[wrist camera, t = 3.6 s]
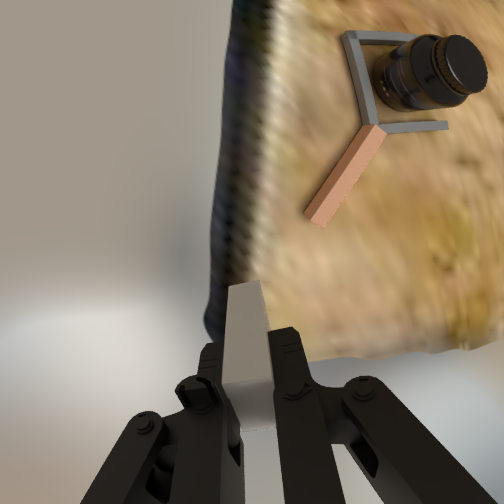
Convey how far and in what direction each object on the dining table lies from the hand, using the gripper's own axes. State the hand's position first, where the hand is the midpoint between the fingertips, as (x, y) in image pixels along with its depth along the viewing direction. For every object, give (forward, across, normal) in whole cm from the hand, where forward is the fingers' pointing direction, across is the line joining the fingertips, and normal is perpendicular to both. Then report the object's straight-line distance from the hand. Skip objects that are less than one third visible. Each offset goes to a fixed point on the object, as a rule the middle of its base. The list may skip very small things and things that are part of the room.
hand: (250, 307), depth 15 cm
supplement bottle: (+16, +19, +12) cm, 28 cm away
